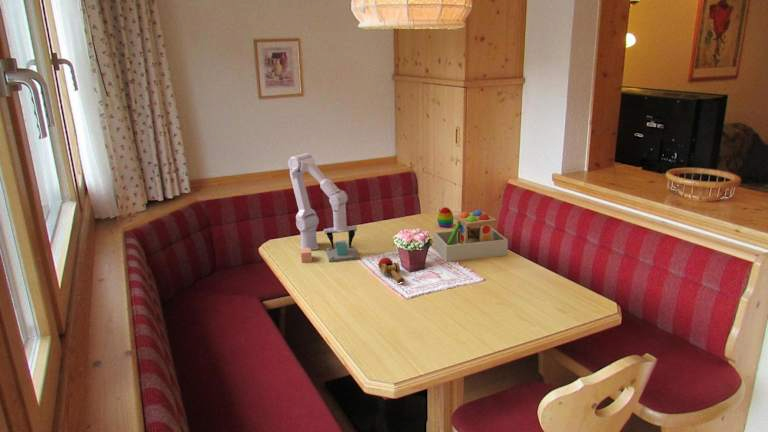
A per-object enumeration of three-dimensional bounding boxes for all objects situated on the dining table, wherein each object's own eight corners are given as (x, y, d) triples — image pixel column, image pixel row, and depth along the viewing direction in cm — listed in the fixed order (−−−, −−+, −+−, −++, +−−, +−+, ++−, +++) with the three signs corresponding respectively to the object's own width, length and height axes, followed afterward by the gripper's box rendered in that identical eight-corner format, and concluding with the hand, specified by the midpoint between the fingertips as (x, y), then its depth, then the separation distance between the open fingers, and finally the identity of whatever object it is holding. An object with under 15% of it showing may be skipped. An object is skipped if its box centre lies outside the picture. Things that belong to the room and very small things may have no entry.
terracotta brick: (300, 258, 245) (300, 248, 243) (310, 257, 245) (310, 247, 244) (301, 262, 239) (301, 253, 238) (312, 261, 240) (311, 252, 238)
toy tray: (433, 246, 253) (433, 232, 250) (490, 240, 258) (490, 226, 256) (446, 261, 235) (446, 246, 233) (507, 254, 240) (507, 239, 238)
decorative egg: (456, 227, 278) (456, 208, 275) (441, 229, 276) (441, 210, 273) (449, 223, 285) (449, 204, 282) (435, 224, 283) (435, 206, 280)
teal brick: (336, 250, 248) (335, 241, 247) (345, 249, 249) (345, 240, 247) (337, 255, 242) (337, 246, 241) (347, 254, 243) (347, 245, 242)
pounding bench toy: (448, 261, 235) (449, 221, 230) (435, 250, 248) (435, 212, 243) (496, 253, 242) (497, 215, 237) (480, 243, 255) (481, 206, 250)
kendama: (411, 285, 216) (392, 264, 231) (409, 272, 213) (390, 251, 228) (394, 292, 214) (375, 270, 229) (391, 278, 211) (373, 257, 226)
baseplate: (325, 251, 251) (325, 247, 251) (353, 248, 254) (353, 244, 253) (329, 262, 238) (329, 258, 238) (358, 259, 241) (358, 255, 240)
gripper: (324, 222, 236) (326, 252, 240) (357, 219, 239) (358, 248, 243) (322, 218, 242) (324, 246, 246) (354, 215, 245) (356, 243, 249)
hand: (341, 247), depth 245 cm, fingers open, 7 cm apart
